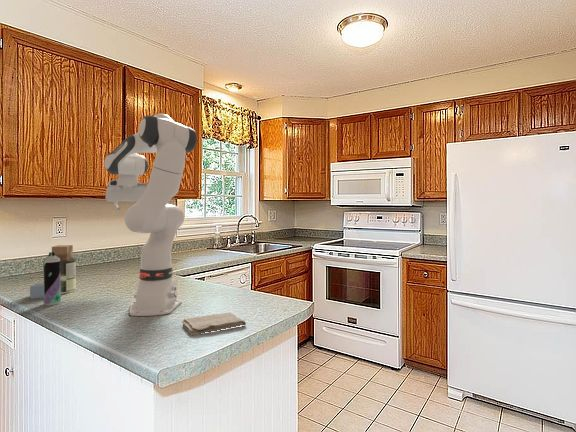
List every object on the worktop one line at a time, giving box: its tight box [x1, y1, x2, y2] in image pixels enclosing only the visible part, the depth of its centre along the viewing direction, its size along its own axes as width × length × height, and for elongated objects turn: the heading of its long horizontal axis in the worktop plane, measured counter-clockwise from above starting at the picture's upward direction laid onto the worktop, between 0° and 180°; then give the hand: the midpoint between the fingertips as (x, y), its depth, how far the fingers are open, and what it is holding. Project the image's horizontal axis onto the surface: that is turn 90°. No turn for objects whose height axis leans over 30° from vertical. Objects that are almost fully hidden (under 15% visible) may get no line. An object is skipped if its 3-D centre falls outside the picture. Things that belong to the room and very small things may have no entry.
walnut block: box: [51, 244, 74, 261], centre depth 160 cm, size 6×6×6 cm
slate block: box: [29, 282, 44, 299], centre depth 151 cm, size 5×5×5 cm
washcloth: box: [181, 312, 247, 336], centre depth 117 cm, size 12×18×3 cm, turn 122°
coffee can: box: [60, 257, 77, 295], centre depth 160 cm, size 10×10×14 cm
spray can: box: [42, 251, 62, 306], centre depth 141 cm, size 6×6×20 cm
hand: (128, 211), depth 178 cm, fingers open, 8 cm apart
